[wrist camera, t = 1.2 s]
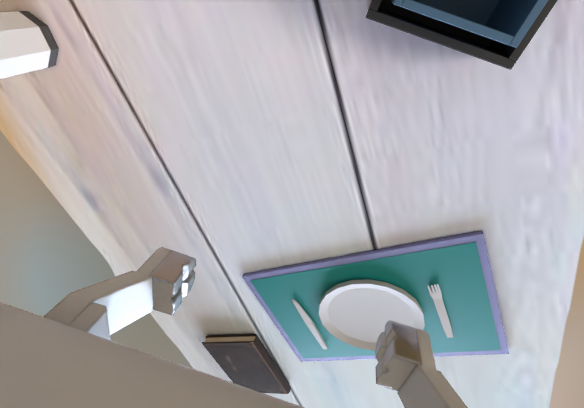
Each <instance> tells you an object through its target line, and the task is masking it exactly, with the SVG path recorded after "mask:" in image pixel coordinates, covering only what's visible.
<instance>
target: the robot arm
mask: <svg viewBox="0 0 584 408" xmlns="http://www.w3.org/2000/svg"><path fill="white" fill-rule="evenodd" d="M195 266H196V259H195V258H193V257H190V256H187V255H184V254H182V253H179V252H176V251H172V250H169V249H166V248H164V247H161V248H159V249H157V250H156V251H155V252H154V254H153V255H152V256H151V257H150V258H149V259H148V260H147V261H146V262H145V263H144V264H143V265H142V266H141V267H140V268H139V269H138V270H137V271H130V272H128V273H125V274H122V275H119V276H116V277H113V278H111V279H108V280H105V281H103V282H100V283H97V284H94V285H91V286H88V287H85V288H83V289H80V290H77V291H74V292H71V293H70V294H68V295H67V296H66V297H65V298H64V299H63V300H62V301H61V302H59V303H58V304H57V305H56V306H55V307H54V308H53V309H52V310H50V311H49V312H48V313H47V314H46V315H45V316H44V317H42V316H39V315H36V314H33V313H30V312H28V311H24V310H22V309H18V308H16V307H13V306H10V305H7V304H4V303H2V302H0V408H304V407H301V406H298V405H295V404H292V403H289V402H286V401H284V400H281V399H278V398H275V397H272V396H269V395H266V394H263V393H261V392H258V391H255V390H252V389H249V388H246V387H243V386H241V385H238V384H235V383H232V382H229V381H226V380H223V379H220V378H218V377H215V376H212V375H209V374H206V373H203V372H200V371H197V370H195V369H192V368H188V367H186V366H182V365H180V364H177V363H174V362H171V361H169V360H166V359H163V358H160V357H157V356H154V355H151V354H148V353H145V352H143V351H139V350H137V349H134V348H131V347H128V346H125V345H122V344H120V343H117V342H114V341H111V338H110V335H111V334H113V333H114V332H116V331H118V330H119V329H121V328H123V327H125V326H127V325H128V324H130V323H132V322H134V321H135V320H137V319H139V318H141V317H142V316H144V315H146V314H148V313H149V312H151V311H153V309H154V310H157V311H160V312H163V313H167V314H170V315H174V313H175V312H176V310H177V309H178V307H179V306H180V304H181V303H182V297H183V296H185V295H187V294H188V293H189V291H190V290H191V287H192V285H193V283H194V279H195V272H194V270H193V269H194V267H195ZM375 357H376V359H377V360H378V364H377V366H376V384H379V385H381V386H384V387H387V388H389V389H392V390H395V391H398V392H397V393H398V395H399V397H400V399H401V401H402V403H403V405H404V407H405V408H467V406H466V405H465V404H464V402H463V401H462V400H461V398H460V397H459V396H458V394H457V393H456V392H455V390H454V389H453V388H452V387H451V385H450V384H449V383H448V381H447V380H446V379H445V377H444V376H443V375H442V373H441V372H440V371H437V370H436V366H435V361H434V356H433V351H432V346H431V342H430V337H429V334H428V332H426V331H423V330H420V329H417V328H413V327H410V326H407V325H404V324H400V323H397V322H394V321H391V320H389V321H388V322H387V323H386V325H385V332H382V333H380V335H379V337H378V340H377V343H376V350H375Z"/></svg>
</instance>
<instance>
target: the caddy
mask: <svg viewBox="0 0 584 408" xmlns="http://www.w3.org/2000/svg"><path fill="white" fill-rule="evenodd" d="M391 1H392V3H393V4H394V5H397V6H401V7H402V8H405V9H408V10H411V11H414V12H417V13H419V14H422V15H425V16H428V17H431V18H433V19H436V20H439V21H442V22H445V23H447V24H450V25H453V26H456V27H459V28H461V29H464V30H467V31H470V32H473V33H475V34H478V35H481V36H484V37H487V38H489V39H492V40H495V41H498V42H501V43H503V44H506V45H509V46H512V47H515V48H517V47H518V45H519V44H520V42H521V41H522V39H523V38H524V36H525V35H526V33H527V32H528V30H529V28H530V27H531V25H532V24H533V22H534V21H535V19H536V18H537V16H538V15H539V13H540V12H541V10H542V9H543V7H544V6H545V4H546V3H547V1H548V0H391Z"/></svg>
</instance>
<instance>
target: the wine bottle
mask: <svg viewBox="0 0 584 408" xmlns="http://www.w3.org/2000/svg"><path fill="white" fill-rule="evenodd" d="M58 49H59V48H58V46H57V44H56V42H55V40H54V38H53V36H52V34H51V32H50V30H49V28H48V26H47V25H46V24H44V23H43V22H42V21H40V20H39V19H38V18H36V17H35V16H34V15H32V14H31V13H30V12H27V11H17V12H2V13H0V79H2V78H6V77H10V76H15V75H19V74H23V73H27V72H31V71H35V70H40V69H44V68H48V67H52V66H54V65H56V59H57V54H58Z"/></svg>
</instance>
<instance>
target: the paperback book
mask: <svg viewBox="0 0 584 408" xmlns="http://www.w3.org/2000/svg"><path fill="white" fill-rule="evenodd" d="M205 337H206V338H207V339H206V341H205V342H202V344H203V345H204V346H205V348H206V349H207V350H208V351H209V353H210V354H211V355H212V356H213V358H214V359H215V360H216V361H217V363H218V364H219V365H220V366H221V368H222V369H223V370H224V371H225V373H226V374H227V375H228V377H229V378H230V379H231V380H232V382H233V383H235V384H238V385H241V386H243V387H246V388H249V389H252V390H255V391H258V392H261V393H280V394H288V393H289V392H290V388H291V387H290V385H289V384H288V382H287V381H286V379H285V378H284V376H283V375H282V373H281V372H280V370H279V368H278V367H277V365H276V364H275V362H274V361H273V359H272V358H271V356H270V355H269V353H268V352H267V350H266V349H265V347H264V346H263V344H262V343H261V341H260V340H259V338H258V337H257V335H256V334H245V335H217V336H205Z"/></svg>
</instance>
